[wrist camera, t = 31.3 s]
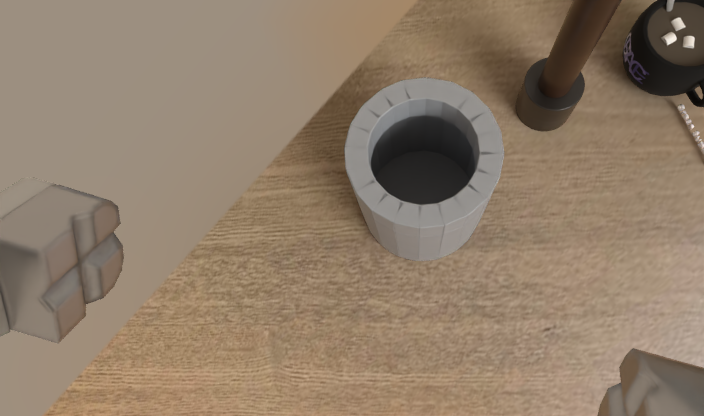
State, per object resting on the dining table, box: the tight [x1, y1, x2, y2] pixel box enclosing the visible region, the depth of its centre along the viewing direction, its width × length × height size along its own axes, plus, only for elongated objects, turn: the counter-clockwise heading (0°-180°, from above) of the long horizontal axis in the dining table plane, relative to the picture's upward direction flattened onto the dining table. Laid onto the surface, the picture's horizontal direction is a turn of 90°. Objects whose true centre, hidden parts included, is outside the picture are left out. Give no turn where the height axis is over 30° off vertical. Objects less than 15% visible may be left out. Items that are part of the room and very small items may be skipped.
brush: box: [516, 0, 621, 131], centre depth 38 cm, size 4×4×16 cm
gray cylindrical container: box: [344, 77, 504, 261], centre depth 39 cm, size 9×9×12 cm
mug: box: [623, 0, 704, 154], centre depth 41 cm, size 12×6×8 cm, turn 20°
